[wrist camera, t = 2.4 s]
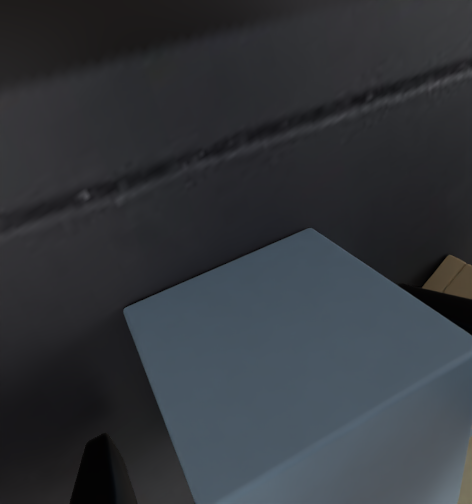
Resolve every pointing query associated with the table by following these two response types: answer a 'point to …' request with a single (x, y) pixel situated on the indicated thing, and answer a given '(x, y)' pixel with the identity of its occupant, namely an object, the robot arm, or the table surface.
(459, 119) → the table surface
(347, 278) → the blue block
